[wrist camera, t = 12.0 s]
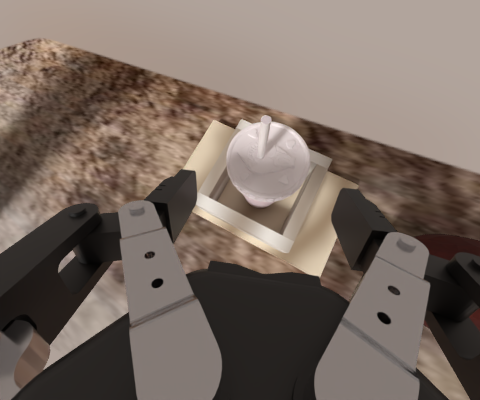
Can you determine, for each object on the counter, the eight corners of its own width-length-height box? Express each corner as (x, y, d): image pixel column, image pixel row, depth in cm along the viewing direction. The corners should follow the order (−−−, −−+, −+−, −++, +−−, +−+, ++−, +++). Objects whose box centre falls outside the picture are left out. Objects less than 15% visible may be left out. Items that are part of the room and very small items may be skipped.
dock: (169, 199, 26) (150, 187, 21) (215, 125, 28) (208, 98, 23) (315, 278, 23) (333, 286, 18) (353, 188, 25) (379, 172, 20)
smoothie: (239, 164, 26) (232, 65, 12) (290, 173, 25) (342, 82, 11) (228, 213, 24) (204, 164, 11) (282, 225, 24) (329, 189, 10)
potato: (379, 221, 24) (454, 204, 15) (484, 273, 23) (640, 289, 14) (350, 288, 23) (416, 314, 14) (462, 351, 21) (621, 427, 12)
